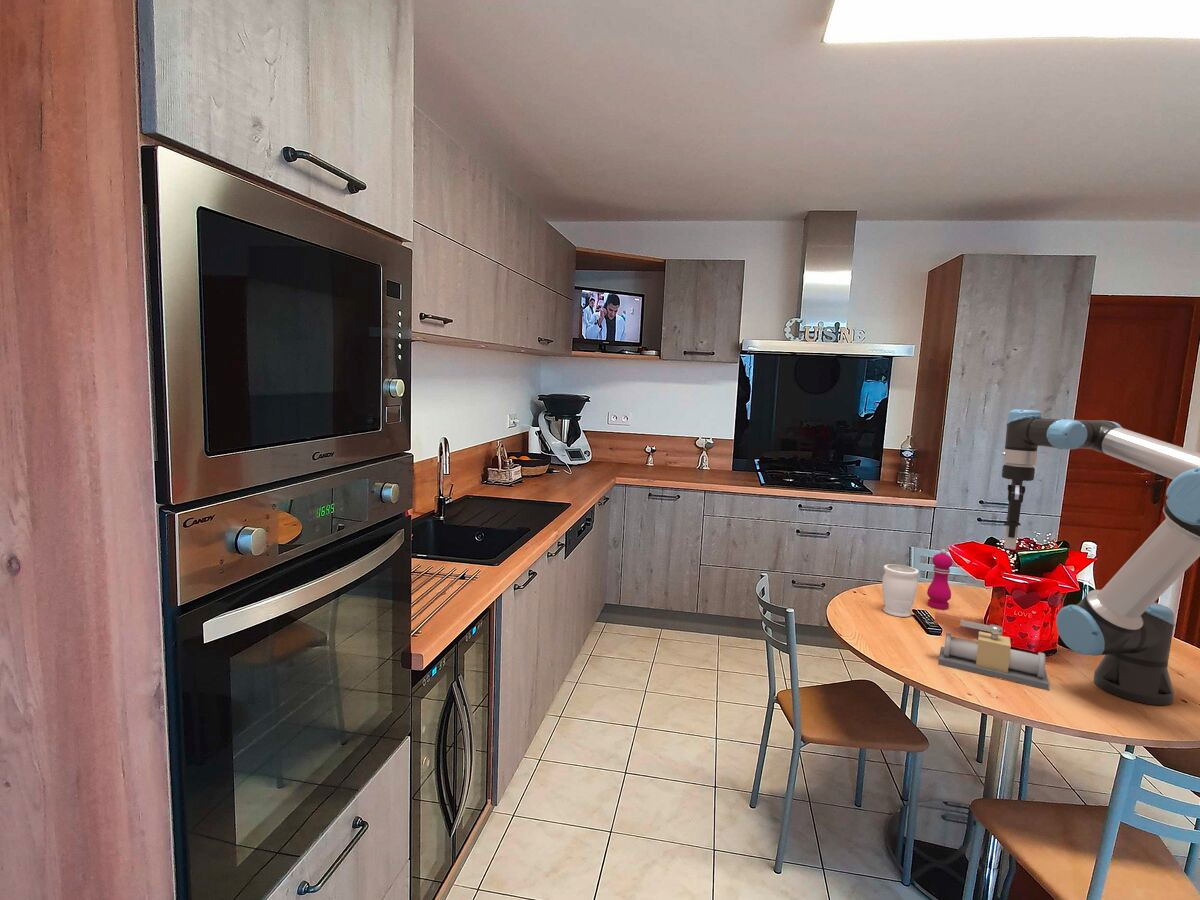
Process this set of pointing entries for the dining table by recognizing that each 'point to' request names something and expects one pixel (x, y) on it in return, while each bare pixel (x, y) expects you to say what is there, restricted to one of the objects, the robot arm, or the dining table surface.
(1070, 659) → the dining table surface
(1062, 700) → the dining table surface
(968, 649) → the valve
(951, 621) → the valve lever
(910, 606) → the jar
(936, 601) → the pepper mill
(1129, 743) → the dining table surface
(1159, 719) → the dining table surface
